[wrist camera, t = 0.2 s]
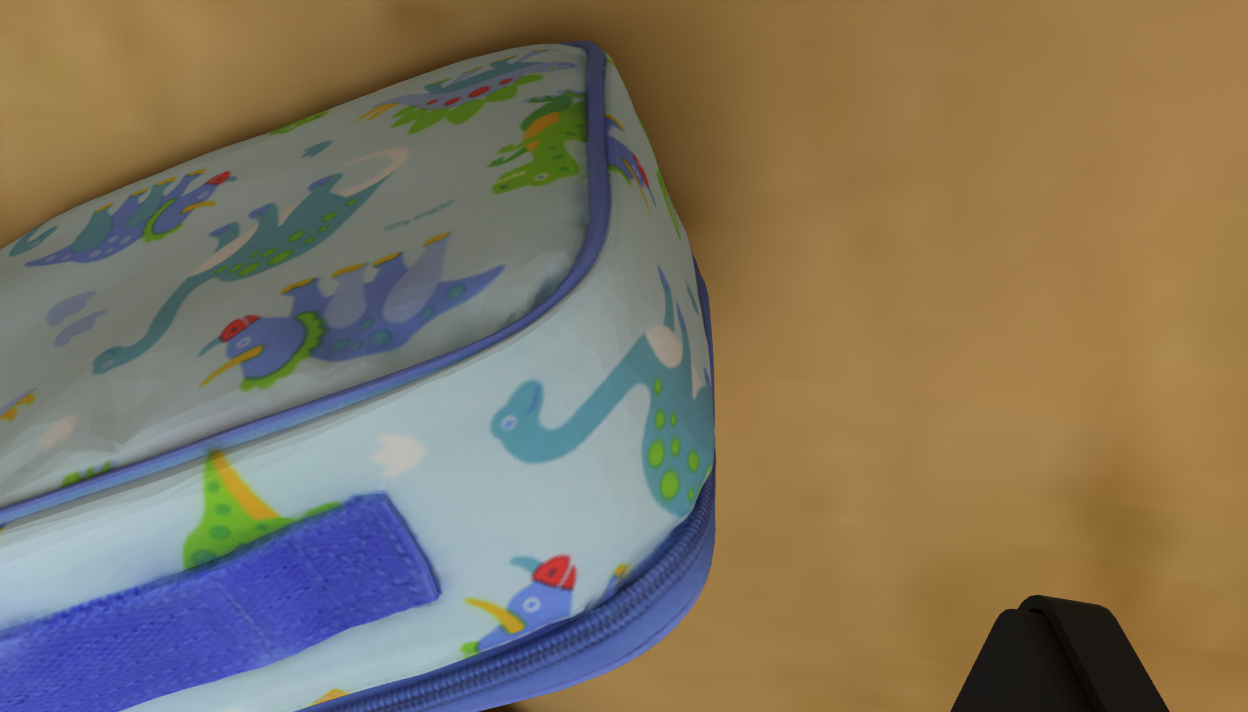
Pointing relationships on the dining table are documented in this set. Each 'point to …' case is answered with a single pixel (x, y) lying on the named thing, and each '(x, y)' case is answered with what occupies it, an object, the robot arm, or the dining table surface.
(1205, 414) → the dining table surface
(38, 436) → the lunch box
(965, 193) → the dining table surface
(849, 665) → the dining table surface
